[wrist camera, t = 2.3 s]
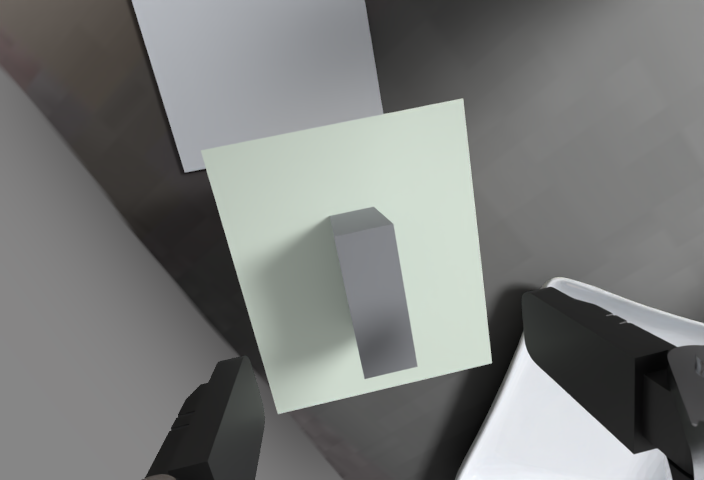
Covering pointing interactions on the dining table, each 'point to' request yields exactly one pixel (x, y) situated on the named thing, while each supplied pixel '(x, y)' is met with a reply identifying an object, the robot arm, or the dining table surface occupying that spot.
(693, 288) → the dining table surface
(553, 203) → the dining table surface
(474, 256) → the lid
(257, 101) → the mat
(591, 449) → the salad plate
